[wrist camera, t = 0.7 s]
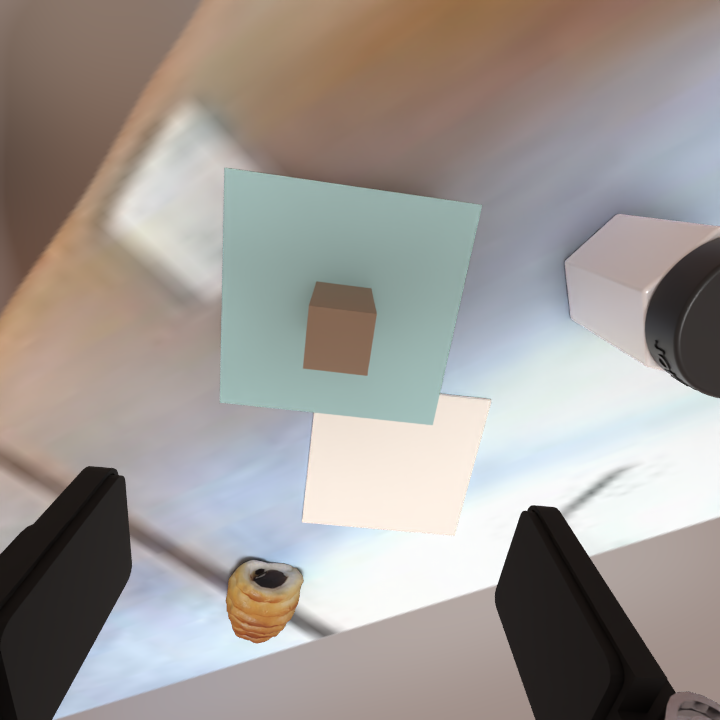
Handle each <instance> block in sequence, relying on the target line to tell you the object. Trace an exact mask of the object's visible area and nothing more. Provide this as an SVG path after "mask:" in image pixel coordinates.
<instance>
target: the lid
mask: <svg viewBox="0 0 720 720" xmlns="http://www.w3.org/2000/svg"><path fill="white" fill-rule="evenodd" d="M481 208H482V205H479V204H473V203H466V202H459V201H452V200H446V199H439V198H432V197H425V196H418V195H411V194H404V193H397V192H390V191H384V190H377V189H370V188H363V187H356V186H349V185H342V184H335V183H328V182H321V181H315V180H308V179H301V178H294V177H287V176H280V175H273V174H266V173H259V172H252V171H246V170H239V169H232V168H224V218H223V268H222V318H221V367H220V403H229V404H238V405H248V406H257V407H266V408H276V409H285V410H294V411H304V412H313V413H323V414H332V415H341V416H351V417H360V418H369V419H379V420H388V421H397V422H407V423H416V424H425V425H433V422H434V417H435V413H436V409H437V404H438V400H439V395H440V391H441V386H442V382H443V377H444V373H445V369H446V364H447V360H448V355H449V351H450V346H451V342H452V337H453V333H454V328H455V324H456V320H457V315H458V311H459V306H460V302H461V297H462V293H463V288H464V284H465V280H466V275H467V271H468V266H469V262H470V257H471V253H472V248H473V244H474V240H475V235H476V231H477V226H478V222H479V217H480V213H481Z"/></svg>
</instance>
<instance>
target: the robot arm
mask: <svg viewBox="0 0 720 720" xmlns="http://www.w3.org/2000/svg"><path fill="white" fill-rule="evenodd" d="M131 568H132V559H131V546H130V534H129V521H128V509H127V497H126V484H125V478H124V476H120V475H118V472H117V470H116V469H114V468H104V467H93V466H88V467H86V468H85V469H83V470H82V471H81V473H80V474H79V475H78V476H77V477H76V478H75V479H74V480H73V481H72V482H71V483H70V485H69V486H68V487H67V488H66V489H65V490H64V491H63V492H62V493H61V494H60V496H59V497H58V498H57V499H56V500H55V501H54V502H53V503H52V504H51V505H50V507H49V508H48V509H47V510H46V511H45V512H44V513H43V514H42V515H41V516H40V517H39V519H38V520H37V521H36V522H35V523H34V524H33V525H30V526H28V527H27V528H25V529H24V530H23V531H22V532H21V533H20V534H19V535H18V536H17V537H16V538H15V539H14V540H13V541H12V542H11V543H10V545H9V546H8V547H7V548H6V549H5V550H4V551H3V552H2V553H1V554H0V720H52V719H53V717H54V715H55V713H56V711H57V710H58V708H59V706H60V704H61V702H62V700H63V699H64V697H65V695H66V693H67V691H68V690H69V688H70V686H71V684H72V682H73V680H74V679H75V677H76V675H77V673H78V671H79V669H80V668H81V666H82V664H83V662H84V660H85V658H86V657H87V655H88V653H89V651H90V649H91V647H92V646H93V644H94V642H95V640H96V638H97V636H98V635H99V633H100V631H101V629H102V627H103V625H104V624H105V622H106V620H107V618H108V616H109V615H110V613H111V611H112V609H113V607H114V605H115V604H116V602H117V600H118V598H119V596H120V594H121V593H122V591H123V589H124V587H125V585H126V583H127V581H128V579H129V576H130V573H131ZM495 603H496V608H497V611H498V614H499V617H500V619H501V622H502V625H503V628H504V631H505V634H506V636H507V640H508V642H509V645H510V648H511V651H512V654H513V657H514V660H515V662H516V665H517V668H518V671H519V674H520V677H521V679H522V682H523V685H524V688H525V691H526V694H527V697H528V700H529V702H530V705H531V708H532V711H533V713H534V717H535V719H536V720H720V705H719V704H718V703H717V702H715V701H713V700H711V699H708V698H707V697H705V696H703V695H700V694H696V693H693V692H677V693H676V692H675V691H674V689H673V688H672V686H671V685H670V683H669V682H668V680H667V677H666V676H665V674H664V673H663V671H662V670H661V668H660V666H659V665H658V663H657V662H656V660H655V659H654V657H653V656H652V654H651V652H650V651H649V649H648V648H647V647H646V645H645V643H644V642H643V640H642V638H641V637H640V635H639V634H638V632H637V631H636V629H635V628H634V626H633V624H632V623H631V622H630V620H629V618H628V617H627V615H626V614H625V612H624V611H623V609H622V607H621V606H620V604H619V603H618V601H617V600H616V598H615V596H614V595H613V593H612V592H611V590H610V589H609V587H608V586H607V584H606V583H605V581H604V580H603V578H602V576H601V575H600V573H599V572H598V570H597V569H596V567H595V565H594V564H593V562H592V561H591V559H590V558H589V556H588V555H587V553H586V551H585V550H584V548H583V547H582V545H581V544H580V542H579V541H578V539H577V537H576V536H575V534H574V533H573V531H572V530H571V528H570V527H569V525H568V523H567V522H566V520H565V519H564V517H563V516H562V514H561V513H560V511H559V510H558V509H557V508H555V507H546V506H535V505H533V506H530V507H529V508H528V510H527V511H523V512H522V513H521V515H520V518H519V521H518V524H517V527H516V530H515V533H514V536H513V539H512V542H511V545H510V548H509V551H508V554H507V557H506V560H505V563H504V566H503V570H502V573H501V576H500V579H499V582H498V585H497V588H496V592H495Z"/></svg>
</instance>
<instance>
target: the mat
mask: <svg viewBox="0 0 720 720" xmlns="http://www.w3.org/2000/svg"><path fill="white" fill-rule="evenodd" d="M490 404H491V399H485V398H476V397H467V396H458V395H449V394H440V395H439V400H438V404H437V409H436V413H435V417H434V422H433V425H425V424H416V423H407V422H397V421H388V420H379V419H369V418H360V417H351V416H341V415H332V414H323V413H314V417H313V426H312V435H311V445H310V454H309V463H308V472H307V481H306V490H305V499H304V509H303V518H302V522H304V523H315V524H326V525H338V526H349V527H360V528H372V529H383V530H394V531H405V532H417V533H428V534H439V535H451V536H454V535H455V532H456V528H457V525H458V521H459V517H460V514H461V510H462V506H463V503H464V499H465V495H466V492H467V488H468V485H469V481H470V477H471V474H472V470H473V466H474V463H475V459H476V455H477V452H478V448H479V444H480V441H481V437H482V434H483V430H484V426H485V423H486V419H487V415H488V412H489V408H490Z"/></svg>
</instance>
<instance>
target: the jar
mask: <svg viewBox="0 0 720 720" xmlns="http://www.w3.org/2000/svg"><path fill="white" fill-rule="evenodd" d="M565 272H566V281H567V289H568V298H569V307H570V316H571V319H572V320H573V321H574V322H576V323H578V324H579V325H581V326H582V327H584V328H586V329H587V330H589V331H590V332H592V333H594V334H595V335H597V336H598V337H600V338H602V339H603V340H605V341H606V342H608V343H610V344H611V345H613V346H614V347H616V348H618V349H619V350H621V351H622V352H624V353H626V354H627V355H629V356H630V357H632V358H634V359H635V360H637V361H638V362H640V363H642V364H643V365H645V366H647V367H650V368H654V369H658V370H663V371H666V372H668V373H669V374H671V376H672V377H673V378H675V379H676V380H678V381H680V382H681V383H683V384H684V385H686V386H689V387H691V388H693V389H695V390H698V391H699V392H701V393H704V394H706V395H709V396H712V397H716V398H720V226H713V225H705V224H697V223H689V222H681V221H673V220H665V219H657V218H649V217H641V216H633V215H625V214H617V215H615V216H614V217H613V218H612V219H611V220H610V221H608V222H607V223H606V224H605V225H604V226H603V227H602V228H601V229H600V230H599V231H597V232H596V233H595V234H594V235H593V236H592V237H591V238H590V239H589V240H588V241H586V242H585V243H584V244H583V245H582V246H581V247H580V248H579V249H578V250H576V251H575V252H574V253H573V254H572V255H571V256H570V257H569V258H568V259H567V260H566V261H565Z"/></svg>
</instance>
